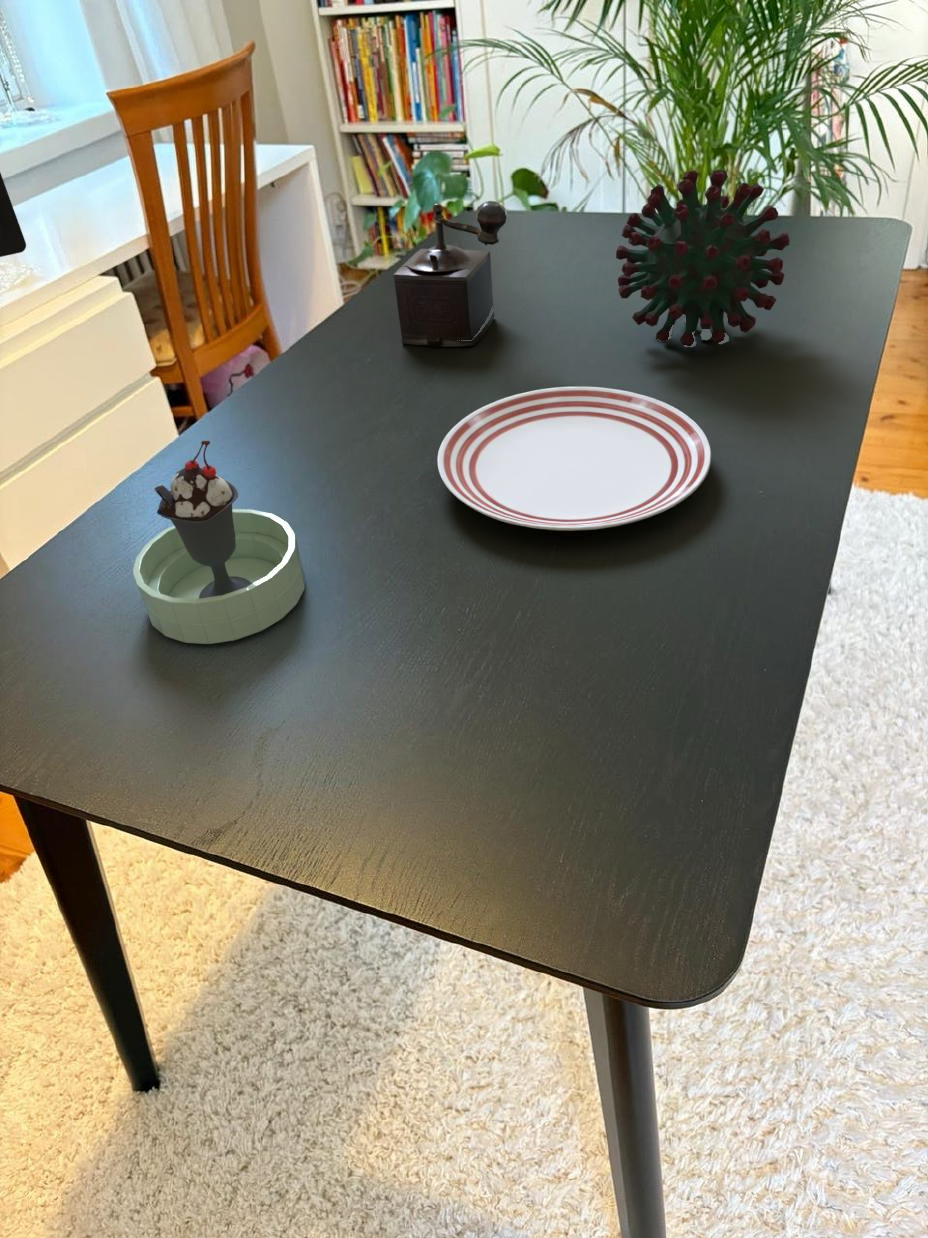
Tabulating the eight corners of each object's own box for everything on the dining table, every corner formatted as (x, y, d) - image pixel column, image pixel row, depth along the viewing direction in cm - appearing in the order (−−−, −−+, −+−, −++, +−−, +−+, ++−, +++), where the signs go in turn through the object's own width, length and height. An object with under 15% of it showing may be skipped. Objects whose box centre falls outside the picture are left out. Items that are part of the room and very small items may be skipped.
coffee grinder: (397, 346, 130) (378, 206, 118) (425, 314, 138) (410, 179, 126) (509, 353, 125) (501, 207, 114) (532, 319, 133) (526, 179, 122)
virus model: (675, 298, 134) (683, 141, 122) (808, 330, 123) (833, 160, 110) (583, 350, 124) (581, 184, 111) (720, 390, 112) (735, 210, 100)
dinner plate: (768, 485, 96) (772, 455, 94) (537, 588, 86) (536, 557, 84) (598, 389, 115) (598, 363, 113) (394, 465, 105) (390, 438, 103)
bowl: (168, 669, 82) (151, 623, 79) (136, 582, 92) (120, 539, 89) (326, 613, 86) (316, 567, 83) (279, 536, 96) (268, 493, 93)
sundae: (277, 579, 90) (239, 433, 80) (235, 623, 85) (190, 474, 76) (219, 566, 92) (176, 423, 83) (175, 608, 88) (124, 462, 78)
